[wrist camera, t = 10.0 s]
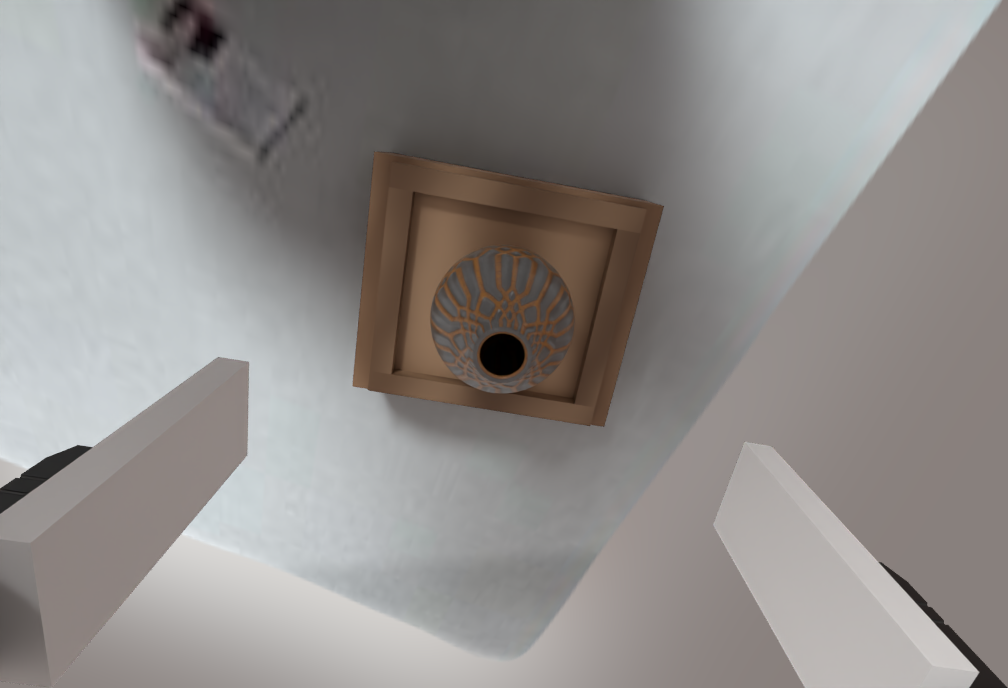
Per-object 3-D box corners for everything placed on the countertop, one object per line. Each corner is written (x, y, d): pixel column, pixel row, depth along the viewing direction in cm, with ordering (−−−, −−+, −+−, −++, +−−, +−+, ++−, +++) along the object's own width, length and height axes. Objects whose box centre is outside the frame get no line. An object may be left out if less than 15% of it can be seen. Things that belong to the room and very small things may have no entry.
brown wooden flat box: (368, 361, 35) (348, 391, 30) (390, 152, 30) (370, 151, 26) (593, 398, 36) (606, 433, 31) (644, 200, 31) (668, 207, 27)
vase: (591, 291, 29) (627, 344, 21) (510, 381, 31) (513, 463, 22) (493, 208, 28) (489, 230, 19) (414, 307, 29) (379, 367, 21)
